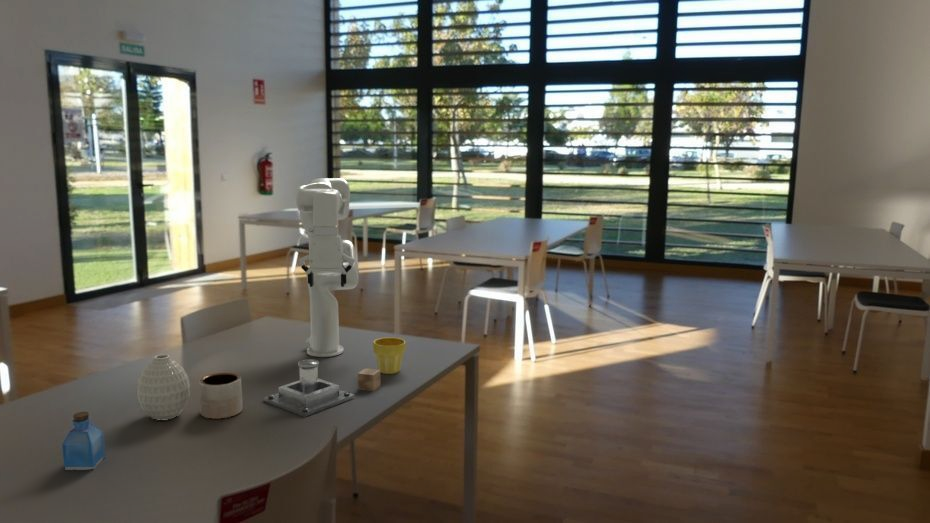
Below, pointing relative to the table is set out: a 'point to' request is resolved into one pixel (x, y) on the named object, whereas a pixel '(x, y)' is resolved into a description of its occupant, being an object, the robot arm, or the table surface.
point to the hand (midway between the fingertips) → (327, 286)
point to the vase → (163, 388)
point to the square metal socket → (308, 398)
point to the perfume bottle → (83, 443)
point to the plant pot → (389, 354)
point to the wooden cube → (369, 379)
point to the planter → (220, 395)
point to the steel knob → (308, 375)
